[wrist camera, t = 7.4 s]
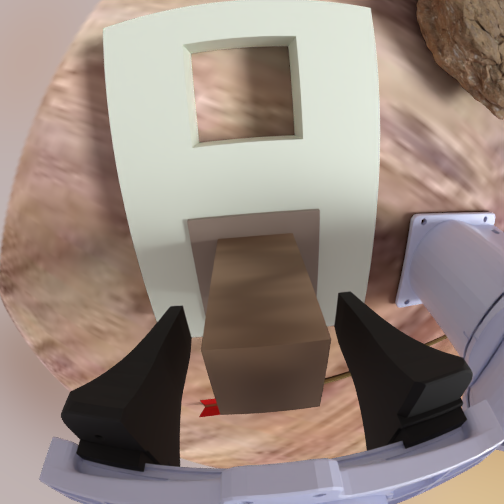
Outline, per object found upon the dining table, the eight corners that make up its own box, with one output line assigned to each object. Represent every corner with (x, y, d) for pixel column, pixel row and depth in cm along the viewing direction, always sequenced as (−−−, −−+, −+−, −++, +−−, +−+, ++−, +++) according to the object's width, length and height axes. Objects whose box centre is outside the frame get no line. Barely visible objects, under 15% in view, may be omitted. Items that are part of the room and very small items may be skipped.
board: (354, 18, 12) (372, 6, 10) (350, 300, 21) (362, 324, 19) (120, 37, 12) (100, 27, 10) (169, 315, 21) (161, 340, 19)
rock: (362, -29, 10) (394, -58, 6) (454, -41, 8) (489, -55, 3) (452, 136, 16) (499, 150, 11) (521, 95, 13) (561, 103, 9)
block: (292, 232, 16) (331, 338, 8) (292, 294, 17) (319, 406, 10) (217, 239, 16) (200, 349, 8) (226, 299, 17) (220, 414, 10)
